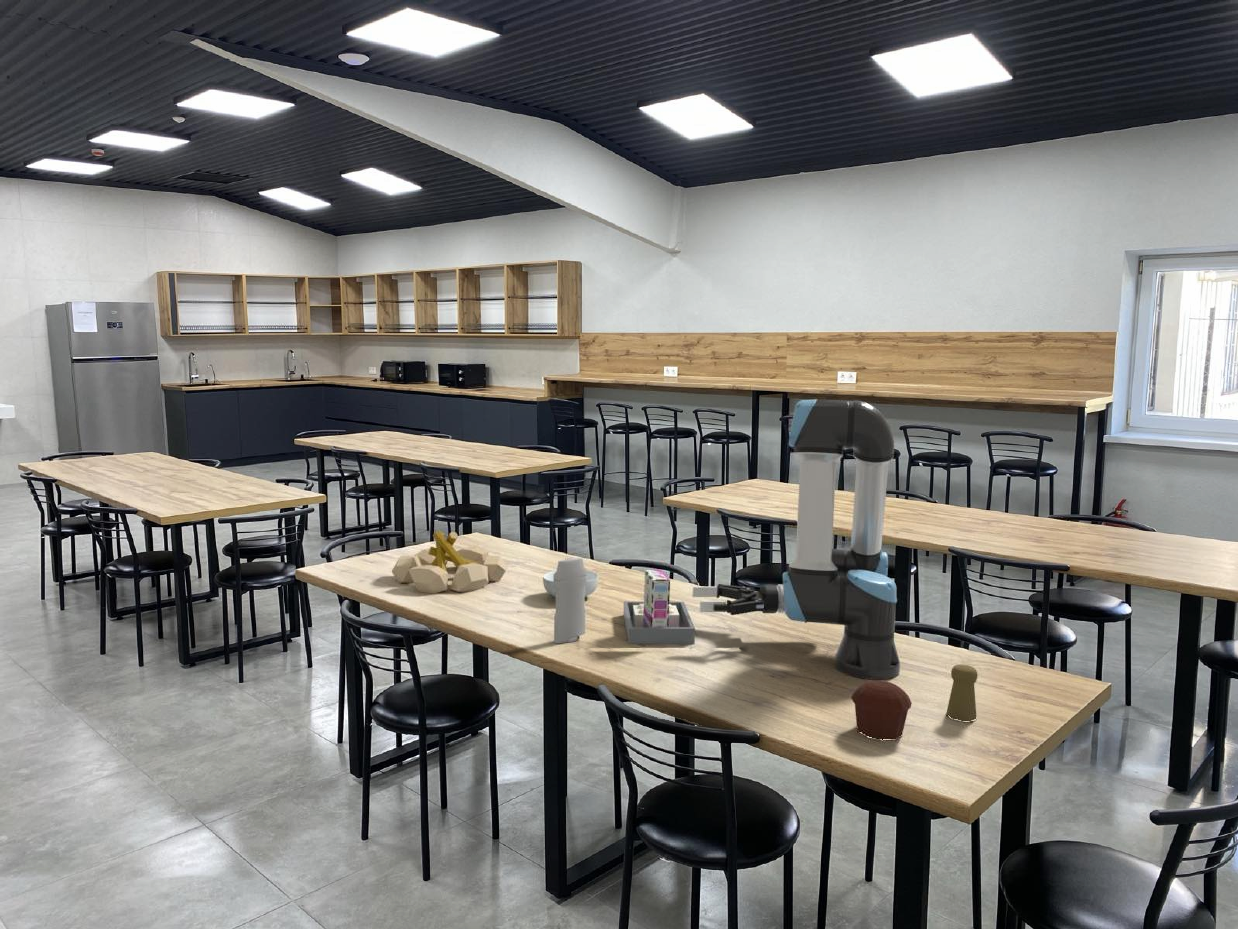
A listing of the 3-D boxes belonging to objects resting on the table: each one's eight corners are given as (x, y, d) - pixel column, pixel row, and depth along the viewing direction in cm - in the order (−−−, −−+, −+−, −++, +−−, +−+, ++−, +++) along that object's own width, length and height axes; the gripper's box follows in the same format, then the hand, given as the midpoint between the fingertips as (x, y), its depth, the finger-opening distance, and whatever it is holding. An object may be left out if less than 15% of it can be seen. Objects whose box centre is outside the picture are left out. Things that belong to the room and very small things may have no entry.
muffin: (851, 740, 175) (854, 692, 173) (846, 717, 185) (849, 672, 184) (914, 746, 173) (917, 697, 171) (905, 722, 184) (908, 676, 182)
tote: (694, 647, 227) (695, 628, 226) (628, 647, 226) (628, 628, 225) (683, 618, 251) (683, 601, 250) (623, 618, 250) (623, 601, 249)
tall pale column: (557, 646, 226) (558, 562, 223) (548, 641, 230) (549, 558, 227) (590, 637, 233) (591, 556, 230) (581, 633, 236) (582, 553, 233)
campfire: (377, 577, 290) (376, 526, 287) (466, 562, 312) (465, 514, 310) (432, 601, 264) (431, 545, 262) (524, 582, 287) (524, 531, 284)
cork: (969, 710, 190) (972, 661, 189) (981, 722, 184) (985, 671, 183) (941, 710, 190) (944, 661, 188) (953, 722, 184) (956, 671, 182)
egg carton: (679, 627, 240) (679, 611, 239) (634, 627, 239) (635, 611, 238) (675, 617, 248) (675, 601, 248) (632, 617, 248) (633, 601, 247)
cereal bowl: (588, 588, 281) (588, 566, 280) (606, 602, 265) (606, 579, 264) (536, 592, 275) (536, 570, 274) (551, 607, 259) (552, 584, 258)
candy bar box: (669, 641, 228) (671, 579, 226) (650, 642, 227) (651, 580, 225) (660, 628, 239) (662, 568, 237) (642, 628, 238) (643, 569, 236)
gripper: (787, 627, 221) (703, 627, 220) (765, 599, 246) (689, 599, 245) (788, 598, 220) (704, 598, 219) (766, 573, 245) (690, 572, 244)
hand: (696, 598), depth 232 cm, fingers open, 13 cm apart
